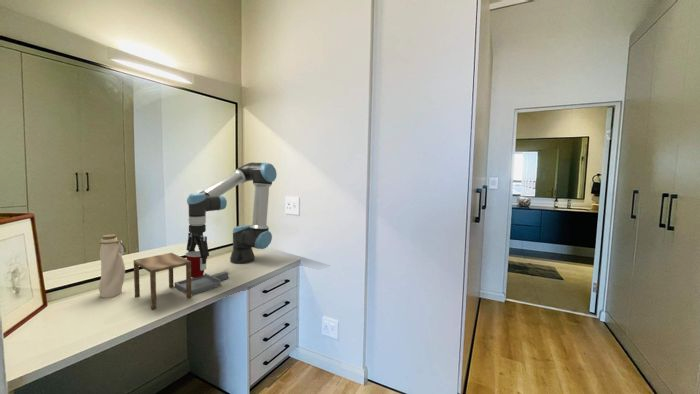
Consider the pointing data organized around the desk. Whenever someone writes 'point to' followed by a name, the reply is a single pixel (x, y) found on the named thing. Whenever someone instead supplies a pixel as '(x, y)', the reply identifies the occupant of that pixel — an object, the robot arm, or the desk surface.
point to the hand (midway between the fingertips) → (197, 267)
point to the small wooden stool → (161, 264)
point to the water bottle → (111, 266)
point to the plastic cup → (195, 263)
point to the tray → (202, 282)
